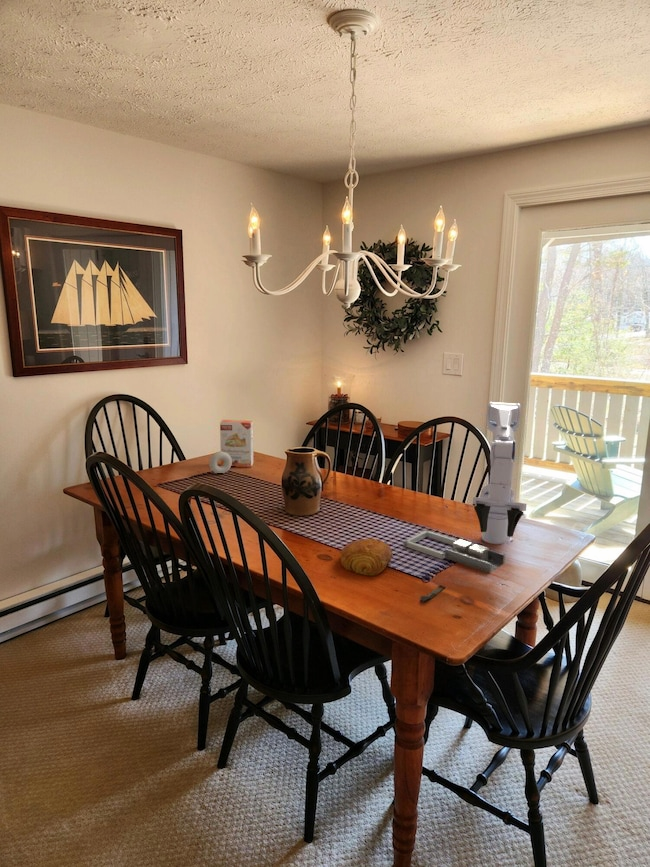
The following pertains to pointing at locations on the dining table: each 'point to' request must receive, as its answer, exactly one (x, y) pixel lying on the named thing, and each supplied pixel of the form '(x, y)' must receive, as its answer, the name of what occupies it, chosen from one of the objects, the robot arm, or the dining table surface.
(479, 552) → the cream cube
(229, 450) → the cracker box
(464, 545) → the beige cube
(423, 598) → the tactical tomahawk
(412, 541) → the tray
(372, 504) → the dining table surface
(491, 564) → the rail
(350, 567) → the croissant
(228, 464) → the donut
